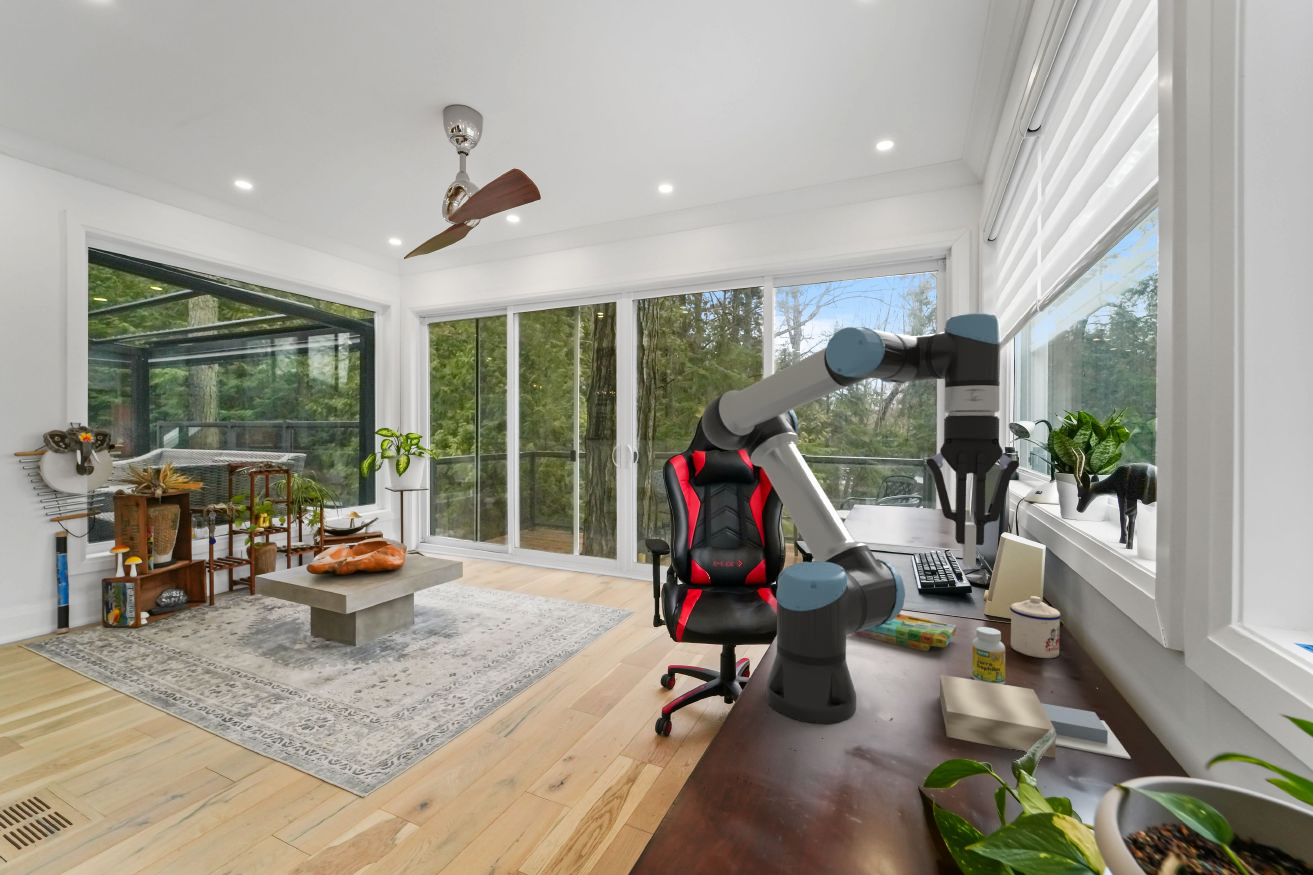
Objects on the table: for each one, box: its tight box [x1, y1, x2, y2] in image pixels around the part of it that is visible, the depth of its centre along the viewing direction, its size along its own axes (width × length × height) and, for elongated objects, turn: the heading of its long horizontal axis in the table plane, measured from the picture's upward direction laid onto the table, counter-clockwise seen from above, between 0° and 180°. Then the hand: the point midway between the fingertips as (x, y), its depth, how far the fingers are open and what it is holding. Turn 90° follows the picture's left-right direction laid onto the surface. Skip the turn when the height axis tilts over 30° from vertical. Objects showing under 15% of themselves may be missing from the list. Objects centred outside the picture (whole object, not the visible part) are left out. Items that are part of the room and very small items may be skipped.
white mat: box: [1056, 720, 1132, 760], centre depth 88 cm, size 10×11×1 cm
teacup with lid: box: [1009, 595, 1062, 659], centre depth 121 cm, size 12×9×12 cm
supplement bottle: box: [971, 626, 1006, 685], centre depth 106 cm, size 5×5×10 cm
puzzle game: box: [854, 613, 958, 652], centre depth 127 cm, size 12×5×20 cm
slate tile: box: [1040, 702, 1108, 744], centre depth 88 cm, size 8×6×2 cm
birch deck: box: [939, 674, 1057, 759], centre depth 90 cm, size 14×14×4 cm
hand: (969, 564), depth 87 cm, fingers closed
